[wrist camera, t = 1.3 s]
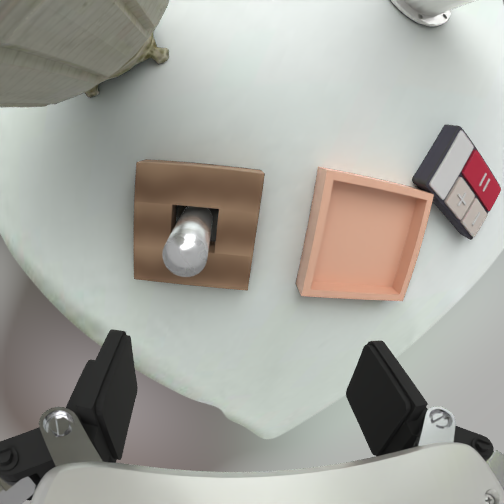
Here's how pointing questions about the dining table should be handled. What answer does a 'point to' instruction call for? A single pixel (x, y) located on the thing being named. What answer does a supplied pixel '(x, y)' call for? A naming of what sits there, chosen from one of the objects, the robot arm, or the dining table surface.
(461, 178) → the calculator
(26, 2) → the samovar
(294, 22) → the dining table surface
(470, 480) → the robot arm
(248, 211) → the wooden square hole block
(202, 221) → the pin
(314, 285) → the tray
